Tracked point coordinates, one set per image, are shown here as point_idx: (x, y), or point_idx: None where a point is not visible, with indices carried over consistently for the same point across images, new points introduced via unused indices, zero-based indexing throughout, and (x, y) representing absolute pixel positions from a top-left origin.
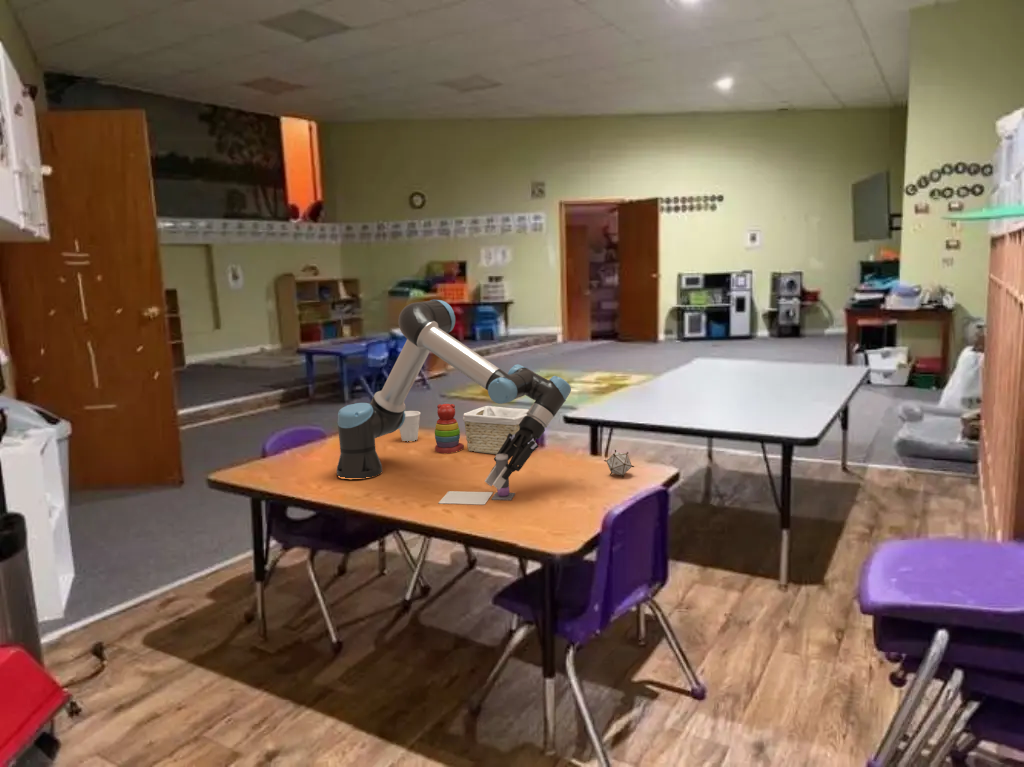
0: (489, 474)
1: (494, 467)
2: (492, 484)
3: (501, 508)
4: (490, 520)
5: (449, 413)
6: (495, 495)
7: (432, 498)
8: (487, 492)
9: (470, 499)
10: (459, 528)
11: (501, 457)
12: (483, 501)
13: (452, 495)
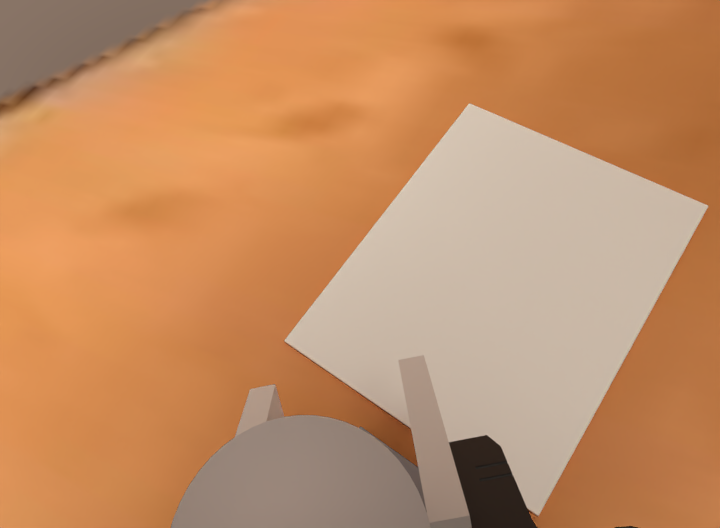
0: (428, 400)
1: (441, 465)
2: (274, 385)
3: (146, 422)
4: (15, 279)
5: None
6: (421, 491)
7: (591, 96)
8: (552, 466)
9: (436, 285)
10: (40, 118)
11: (193, 493)
12: (343, 352)
13: (587, 204)
